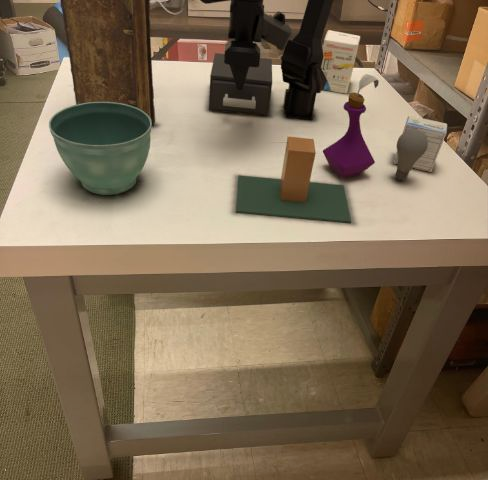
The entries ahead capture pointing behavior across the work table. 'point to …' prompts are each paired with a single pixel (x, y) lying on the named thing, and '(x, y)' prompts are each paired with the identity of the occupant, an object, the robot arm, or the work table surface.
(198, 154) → the work table surface
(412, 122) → the medicine box
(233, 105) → the drawer
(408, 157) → the light bulb
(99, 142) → the flower pot
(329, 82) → the ink box
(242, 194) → the front mat
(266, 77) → the dark grey box
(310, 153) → the box
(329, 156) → the perfume bottle
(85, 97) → the book
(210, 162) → the work table surface
